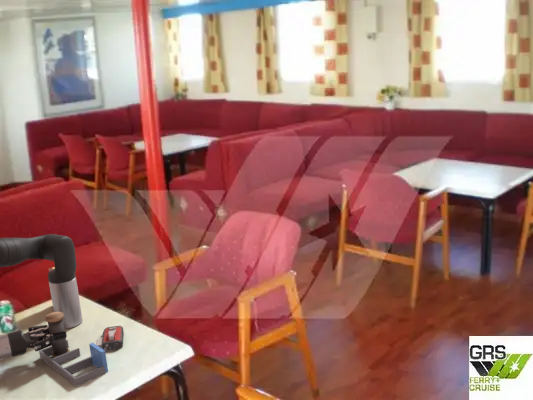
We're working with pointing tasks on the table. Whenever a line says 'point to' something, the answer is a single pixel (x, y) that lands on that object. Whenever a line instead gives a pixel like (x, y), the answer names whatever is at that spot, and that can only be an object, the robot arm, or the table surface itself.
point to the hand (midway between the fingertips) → (64, 330)
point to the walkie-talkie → (111, 338)
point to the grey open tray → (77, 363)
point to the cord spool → (54, 327)
